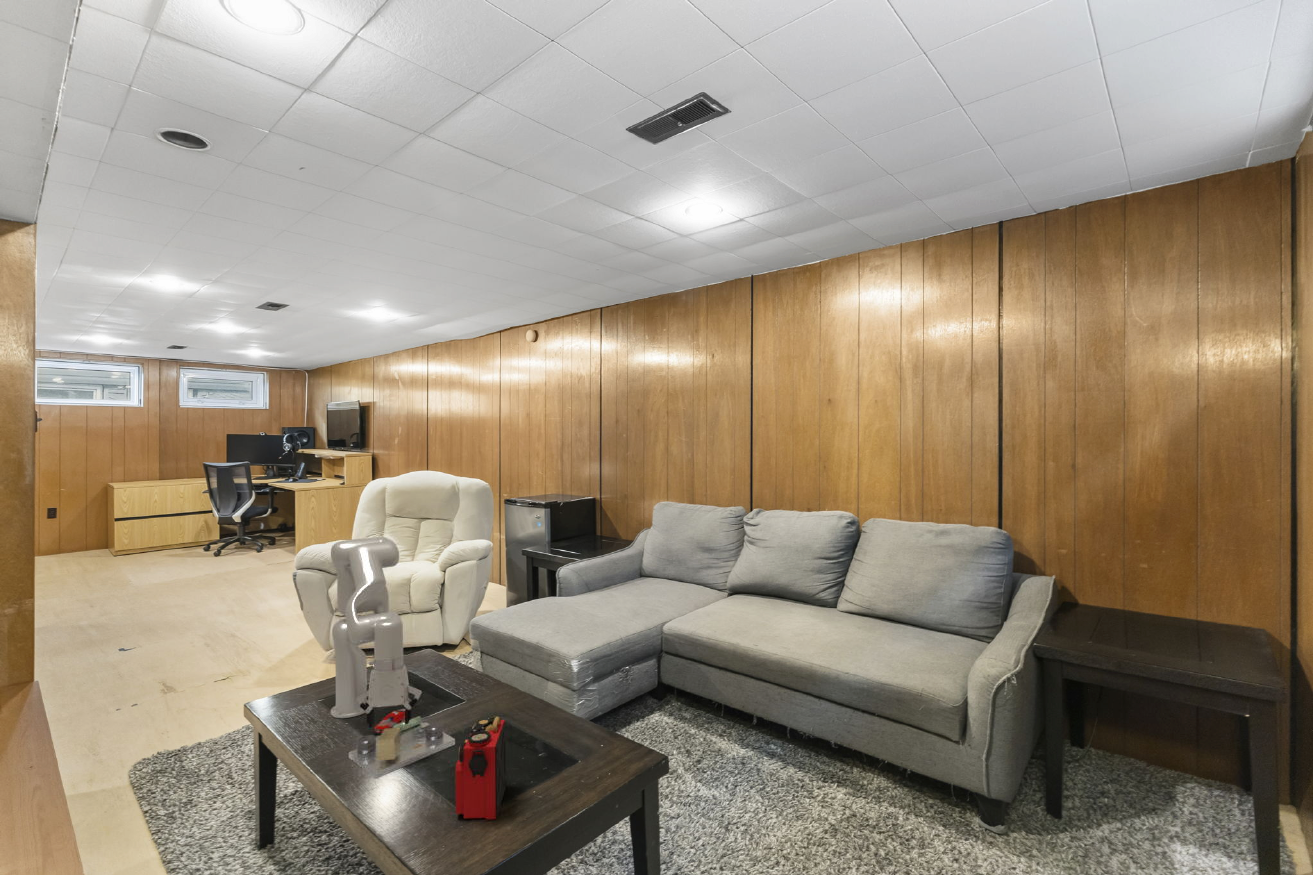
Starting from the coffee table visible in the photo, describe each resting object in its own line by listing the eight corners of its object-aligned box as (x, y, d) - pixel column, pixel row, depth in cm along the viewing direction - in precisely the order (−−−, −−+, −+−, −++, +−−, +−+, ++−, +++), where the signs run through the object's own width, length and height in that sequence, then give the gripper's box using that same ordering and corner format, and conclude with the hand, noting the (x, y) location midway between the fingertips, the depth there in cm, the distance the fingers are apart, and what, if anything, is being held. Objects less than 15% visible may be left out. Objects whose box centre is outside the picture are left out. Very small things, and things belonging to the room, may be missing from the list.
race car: (384, 737, 189) (384, 724, 189) (370, 734, 190) (370, 722, 190) (414, 718, 201) (414, 706, 201) (401, 716, 203) (401, 704, 203)
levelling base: (348, 757, 176) (348, 736, 176) (426, 727, 194) (426, 708, 194) (375, 778, 165) (375, 756, 165) (455, 744, 183) (454, 724, 183)
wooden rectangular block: (394, 762, 169) (394, 739, 169) (377, 764, 169) (377, 740, 169) (403, 744, 180) (403, 721, 180) (387, 745, 179) (387, 723, 179)
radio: (468, 787, 160) (468, 711, 161) (507, 785, 161) (507, 710, 161) (453, 824, 145) (453, 741, 145) (497, 822, 146) (496, 739, 146)
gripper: (352, 670, 167) (352, 732, 167) (417, 665, 170) (418, 726, 170) (360, 661, 175) (361, 721, 174) (423, 656, 178) (424, 715, 177)
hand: (389, 723), depth 172 cm, fingers open, 9 cm apart
